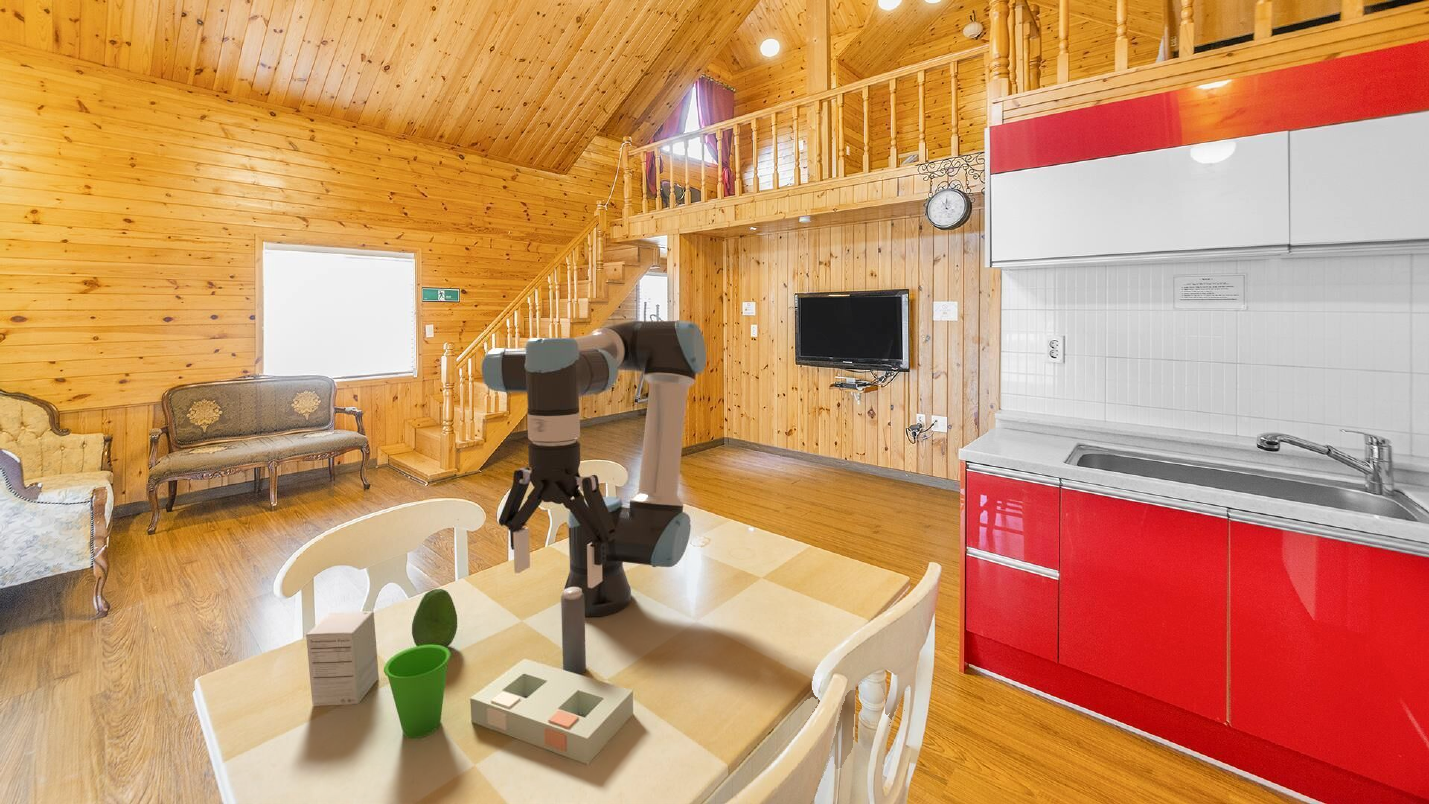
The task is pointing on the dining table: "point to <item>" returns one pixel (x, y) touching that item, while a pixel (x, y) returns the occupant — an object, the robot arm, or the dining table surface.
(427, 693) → the cup
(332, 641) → the supplement box
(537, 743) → the socket strip
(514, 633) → the dining table surface
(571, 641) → the plug
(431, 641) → the fruit
